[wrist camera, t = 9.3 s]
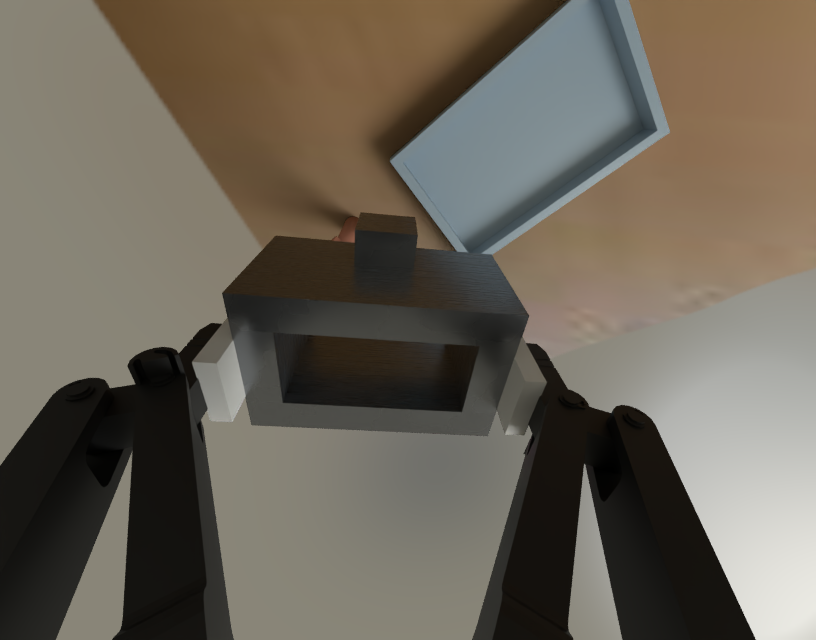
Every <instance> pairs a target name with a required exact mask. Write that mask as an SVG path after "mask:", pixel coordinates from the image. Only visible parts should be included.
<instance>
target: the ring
mask: <svg viewBox="0 0 816 640" xmlns="http://www.w3.org/2000/svg"><path fill="white" fill-rule="evenodd" d="M417 237H418V234H417V227H416V220H415V217H405V216H394V215H383V214H373V213H362V212H361V213H360V216H359V219H358V222H357V225H356V227H355V243H354V242H342V241H331V240H319V239H308V238H296V237H285V236H275V237H274V238H273V239H272V240H271V241H270V242H269V243H268V244H267V246H266V247H265V248H264V249H263V250H262V251H261V252H260V253H259V254H258V255H257V256H256V257H255V258H254V260H253V261H252V262H251V263H250V264H249V265H248V266H247V267H246V268H245V269H244V270H243V271H242V272H241V274H240V275H239V276H238V277H237V278H236V279H235V280H234V281H233V282H232V283H231V284H230V285H229V286H228V287H227V288H226V289H225V291H224V292H223V293H222V294H223V299H224V304H225V308H226V312H227V317H228V322H229V326H230V331H231V335H232V340H233V341H234V345H235V350H236V354H237V359H238V363H239V368H240V372H241V377H242V381H243V386H244V390H245V395H246V397H245V398H246V402H247V407H248V411H249V416H250V420H251V425H260V426H282V427H304V428H305V427H306V428H324V429H346V430H347V429H348V430H368V431H390V432H411V433H432V434H453V435H476V436H488V433H489V431H490V428H491V425H492V422H493V419H494V416H495V413H496V411H497V407H498V404H499V401H500V398H501V395H502V393H503V390H504V387H505V384H506V381H507V378H508V375H509V372H510V369H511V366H512V363H513V361H514V358H515V355H516V353H517V350H518V347H519V344H520V341H521V338H522V335H523V332H524V329H525V326H526V324H527V321H528V318H529V315H528V313H527V311H526V310H525V308H524V307H523V305H522V303H521V302H520V300H519V298H518V297H517V295H516V294H515V292H514V290H513V289H512V287H511V286H510V284H509V282H508V281H507V279H506V277H505V276H504V274H503V273H502V271H501V269H500V268H499V266H498V264H497V263H496V261H495V260H494V258H493V256H492V255H491V254H480V253H469V252H457V251H446V250H434V249H423V248H416V245H417Z"/></svg>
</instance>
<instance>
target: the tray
mask: <svg viewBox="0 0 816 640" xmlns="http://www.w3.org/2000/svg"><path fill="white" fill-rule="evenodd" d="M668 133H670V131H669V127H668V124H667V121H666V118H665V115H664V111H663V108H662V105H661V102H660V99H659V95H658V92H657V89H656V86H655V83H654V79H653V76H652V73H651V70H650V67H649V63H648V60H647V57H646V54H645V51H644V48H643V44H642V41H641V38H640V35H639V32H638V28H637V25H636V22H635V19H634V16H633V12H632V9H631V6H630V3H629V0H567V1H565V2H564V3H563V4H562V5H561V6H560V7H559V8H558V9H556V10H555V11H554V12H553V13H552V14H551V15H550V16H549V17H547V18H546V19H545V20H544V21H543V22H542V23H541V24H540V25H539V26H537V27H536V28H535V29H534V30H533V31H532V32H531V33H530V34H528V35H527V36H526V37H525V38H524V39H523V40H522V41H521V42H519V43H518V44H517V45H516V46H515V47H514V48H513V49H512V50H510V51H509V52H508V53H507V54H506V55H505V56H504V57H503V58H502V59H500V60H499V61H498V62H497V63H496V64H495V65H494V66H493V67H491V68H490V69H489V70H488V71H487V72H486V73H485V74H484V75H482V76H481V77H480V78H479V79H478V80H477V81H476V82H475V83H474V84H472V85H471V86H470V87H469V88H468V89H467V90H466V91H465V92H463V93H462V94H461V95H460V96H459V97H458V98H457V99H456V100H454V101H453V102H452V103H451V104H450V105H449V106H448V107H447V108H445V109H444V110H443V111H442V112H441V113H440V114H439V115H438V116H437V117H435V118H434V119H433V120H432V121H431V122H430V123H429V124H428V125H426V126H425V127H424V128H423V129H422V130H421V131H420V132H419V133H417V134H416V135H415V136H414V137H413V138H412V139H411V140H410V141H408V142H407V143H406V144H405V145H404V146H403V147H402V148H401V149H400V150H398V151H397V152H396V153H395V154H394V155H393V156H392V157H391V158H390V162H391V164H392V165H393V166H394V168H395V169H396V170H397V172H398V173H399V174H400V176H401V177H402V178H403V180H404V181H405V182H406V184H407V185H408V186H409V188H410V189H411V190H412V192H413V193H414V194H415V196H416V197H417V198H418V200H419V201H420V202H421V204H422V205H423V207H424V208H425V209H426V211H427V212H428V213H429V215H430V216H431V217H432V219H433V220H434V221H435V223H436V224H437V225H438V227H439V228H440V229H441V231H442V232H443V233H444V235H445V236H446V237H447V239H448V240H449V241H450V243H451V244H452V245H453V247H454V248H455V249H456V251H457V252H469V253H480V254H491V255H492V254H494V253H495V252H497V251H498V250H500V249H501V248H502V247H504V246H505V245H507V244H508V243H510V242H511V241H513V240H514V239H516V238H517V237H518V236H520V235H521V234H523V233H524V232H526V231H527V230H529V229H530V228H532V227H533V226H534V225H536V224H537V223H539V222H540V221H542V220H543V219H545V218H546V217H548V216H549V215H550V214H552V213H553V212H555V211H556V210H558V209H559V208H561V207H562V206H564V205H565V204H566V203H568V202H569V201H571V200H572V199H574V198H575V197H577V196H578V195H580V194H581V193H582V192H584V191H585V190H587V189H588V188H590V187H591V186H593V185H594V184H596V183H597V182H598V181H600V180H601V179H603V178H604V177H606V176H607V175H609V174H610V173H611V172H613V171H614V170H616V169H617V168H619V167H620V166H622V165H623V164H625V163H626V162H627V161H629V160H630V159H632V158H633V157H635V156H636V155H638V154H639V153H641V152H642V151H643V150H645V149H646V148H648V147H649V146H651V145H652V144H654V143H655V142H657V141H658V140H659V139H661V138H662V137H664V136H665V135H667V134H668Z"/></svg>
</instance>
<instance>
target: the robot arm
mask: <svg viewBox="0 0 816 640" xmlns="http://www.w3.org/2000/svg"><path fill="white" fill-rule="evenodd" d="M128 368H129V370H130V373H131V375H132V377H133V379H134V381H135V385H129V386H122V387H116V388H109V386H108V384H107V383H106V381H105V380H103V379H100V378H87V379H82V380H78V381H75V382H72V383H70V384H68V385H66V386H64V387H62V388H61V389H59V390H58V391H57V392H56V393H55V394H53V395H52V397H51V398H50V399H49V401H48V402H47V403H46V405H45V406H44V407H43V409H42V410H41V411H40V413H39V414H38V415H37V417H36V418H35V420H34V421H33V422H32V424H31V425H30V426H29V428H28V429H27V430H26V432H25V433H24V435H23V436H22V437H21V439H20V440H19V441H18V442H17V444H16V445H15V446H14V448H13V449H12V451H11V452H10V453H9V455H8V456H7V457H6V459H5V460H4V461H3V463H2V464H1V465H0V640H56V638H57V635H58V633H59V630H60V628H61V625H62V623H63V620H64V618H65V615H66V613H67V610H68V608H69V606H70V603H71V600H72V598H73V596H74V593H75V590H76V588H77V586H78V583H79V581H80V578H81V576H82V573H83V571H84V569H85V566H86V564H87V561H88V559H89V556H90V554H91V551H92V549H93V546H94V544H95V541H96V539H97V536H98V534H99V532H100V529H101V527H102V524H103V522H104V519H105V517H106V514H107V512H108V509H109V507H110V504H111V502H112V499H113V497H114V494H115V492H116V490H117V487H118V484H119V482H120V479H121V477H122V475H123V472H124V470H125V467H126V465H127V462H128V460H129V457H130V455H131V453H132V450H133V453H132V472H131V488H130V504H129V522H128V538H127V539H128V540H127V555H126V572H125V590H124V606H123V621H122V626H121V630H120V631H119V633H118V634H117V635H116V636H115V637H114V638H113V639H112V640H234V639H233V634H232V630H231V624H230V616H229V609H228V602H227V595H226V587H225V580H224V573H223V566H222V559H221V552H220V544H219V537H218V530H217V523H216V516H215V509H214V501H213V494H212V487H211V480H210V473H209V466H208V458H207V451H206V444H205V437H204V429H203V425H202V422H201V418H202V417H203V415H204V414H205V412H206V411H207V412H208V415H209V418H210V421H221V422H233V420H234V418H235V416H236V414H237V412H238V410H239V408H240V406H241V404H242V402H243V400H244V398H245V397H246V395H245V390H244V386H243V381H242V377H241V372H240V368H239V363H238V359H237V354H236V350H235V345H234V341H233V340H232V335H231V331H230V326H229V322H228V318H227V319H226V320H225V321H224V323H223V324H217V323H216V324H215V323H211V324H209V325H207V326H206V327H204V328H202V329H200V330H199V332H198V333H197V334H196V335H195V336H194V337H193V340H190V342H189V343H188V344H187V346H185V347H184V348H183V350H182V351H181V352H180V353H179V354H178V352H177V350H175V349H173V348H167V347H159V348H153V349H149V350H146V351H143V352H141V353H139V354H138V355H136V356H134V357H133V358H132V359H131V360H130V361H129V364H128ZM497 411H498V415H499V418H500V421H501V424H502V427H503V430H504V433H505V434H507V435H524V434H525V432H526V430H527V428H528V425H529V426H530V429H531V431H532V436H531V439H530V441H529V443H528V445H527V448H526V450H525V452H524V454H525V459H524V462H523V465H522V469H521V472H520V476H519V479H518V483H517V486H516V490H515V493H514V497H513V501H512V504H511V508H510V511H509V515H508V518H507V522H506V525H505V529H504V532H503V536H502V539H501V543H500V546H499V550H498V553H497V557H496V560H495V564H494V567H493V571H492V575H491V578H490V581H489V585H488V589H487V592H486V596H485V599H484V602H483V606H482V609H481V613H480V616H479V620H478V624H477V627H476V630H475V633H474V636H473V639H472V640H573V637H572V636H571V634H570V633H569V630H568V616H569V606H570V596H571V586H572V576H573V566H574V557H575V547H576V537H577V526H578V517H579V507H580V497H581V488H582V477H583V468H584V464H585V465H586V469H587V474H588V479H589V484H590V488H591V493H592V498H593V502H594V507H595V512H596V517H597V521H598V526H599V531H600V535H601V540H602V545H603V550H604V555H605V559H606V564H607V569H608V573H609V578H610V583H611V588H612V592H613V597H614V602H615V606H616V611H617V616H618V620H619V625H620V630H621V635H622V639H623V640H756V639H755V637H754V635H753V633H752V631H751V628H750V626H749V624H748V622H747V620H746V618H745V616H744V614H743V612H742V609H741V607H740V605H739V603H738V601H737V599H736V596H735V594H734V592H733V590H732V588H731V586H730V584H729V582H728V579H727V577H726V575H725V573H724V571H723V569H722V567H721V564H720V562H719V560H718V558H717V556H716V554H715V552H714V549H713V547H712V545H711V543H710V541H709V539H708V537H707V535H706V532H705V530H704V528H703V526H702V524H701V522H700V519H699V517H698V515H697V513H696V511H695V509H694V507H693V505H692V502H691V500H690V498H689V496H688V494H687V492H686V489H685V487H684V485H683V483H682V481H681V479H680V477H679V474H678V472H677V470H676V468H675V466H674V464H673V462H672V460H671V457H670V456H669V453H668V451H667V449H666V447H665V445H664V442H663V440H662V438H661V436H660V434H659V432H658V430H657V427H656V425H655V424H654V423H653V421H652V419H651V418H649V417H648V416H647V415H646V414H645V413H643V412H641V411H640V410H638V409H636V408H633V407H630V406H625V405H620V406H616V407H615V408H614V410H613V411H612V413H608V412H605V411H601V410H598V409H594V408H592V407H589V405H588V403H587V401H586V400H585V399H584V398H583V397H582V396H581V395H579V394H578V393H576V392H574V391H572V390H568V389H567V387H566V385H565V384H564V382H563V380H562V379H561V377H560V375H559V373H558V372H557V370H556V368H554V365H553V364H552V362H551V361H550V358H549V357H548V355H547V353H546V352H545V351H544V350H543V349H542V348H541V347H540V346H538V345H537V344H530V343H525V341H524V339H523V337H522V338H521V341H520V344H519V347H518V350H517V353H516V355H515V358H514V361H513V363H512V366H511V369H510V372H509V375H508V378H507V381H506V384H505V387H504V390H503V393H502V395H501V398H500V401H499V404H498V407H497Z"/></svg>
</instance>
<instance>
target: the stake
mask: <svg viewBox="0 0 816 640" xmlns="http://www.w3.org/2000/svg"><path fill="white" fill-rule="evenodd" d="M357 222H358V218H357V217H349V218H348V219H347V220H346V221H345V223H344V226H343V228H342V230H341V232H340V234H339V237H337V236H336V237H334V238H333V239H332V240H331V241H342V242H354V243H355V227H356V225H357Z"/></svg>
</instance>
